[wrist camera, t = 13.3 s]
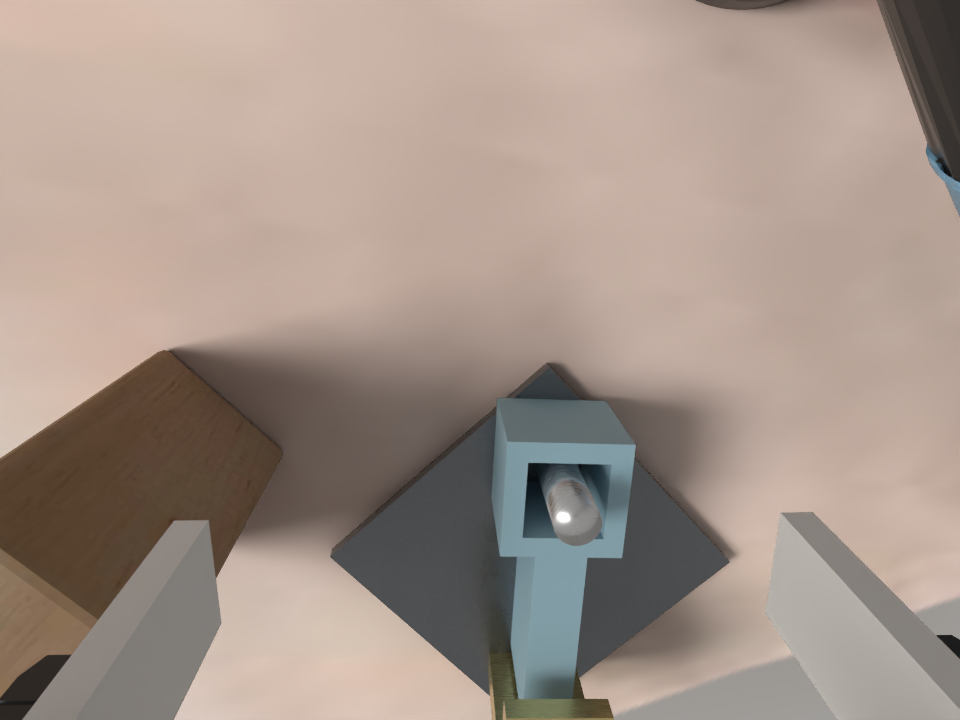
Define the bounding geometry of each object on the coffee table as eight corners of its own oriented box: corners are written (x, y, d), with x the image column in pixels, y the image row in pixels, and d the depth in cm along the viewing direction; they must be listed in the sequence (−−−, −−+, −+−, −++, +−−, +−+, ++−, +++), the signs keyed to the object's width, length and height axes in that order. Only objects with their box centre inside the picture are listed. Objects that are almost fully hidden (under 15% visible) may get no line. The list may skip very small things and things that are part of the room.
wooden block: (287, 451, 44) (169, 671, 25) (186, 546, 46) (3, 822, 27) (166, 344, 42) (-67, 499, 23) (64, 449, 44) (-234, 676, 24)
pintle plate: (547, 362, 44) (582, 430, 33) (723, 554, 48) (806, 669, 37) (332, 548, 47) (298, 667, 36) (519, 711, 51) (539, 861, 40)
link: (497, 397, 43) (507, 441, 36) (606, 401, 43) (636, 444, 37) (482, 643, 48) (489, 721, 41) (579, 643, 49) (601, 721, 42)
